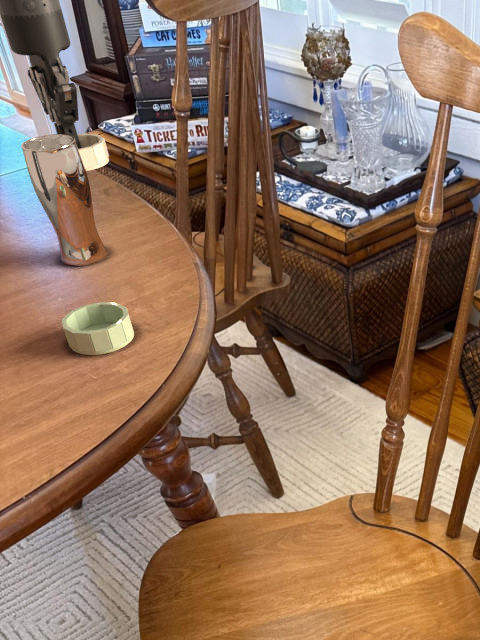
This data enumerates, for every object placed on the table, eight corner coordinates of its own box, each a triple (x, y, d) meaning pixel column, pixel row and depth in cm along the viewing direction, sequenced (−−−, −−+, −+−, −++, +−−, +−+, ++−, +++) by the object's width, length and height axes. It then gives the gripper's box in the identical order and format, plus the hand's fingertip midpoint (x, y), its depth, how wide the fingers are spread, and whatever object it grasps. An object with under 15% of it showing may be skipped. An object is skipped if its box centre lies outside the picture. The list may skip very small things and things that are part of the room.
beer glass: (119, 255, 109) (86, 140, 99) (74, 272, 106) (35, 154, 95) (94, 242, 113) (60, 130, 102) (49, 257, 109) (9, 143, 99)
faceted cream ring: (65, 176, 106) (58, 154, 104) (47, 162, 111) (41, 141, 109) (117, 164, 109) (111, 142, 108) (98, 150, 114) (92, 130, 112)
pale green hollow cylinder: (94, 361, 88) (86, 339, 86) (57, 342, 92) (49, 320, 90) (147, 335, 92) (140, 313, 90) (109, 317, 96) (103, 296, 94)
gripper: (76, 10, 97) (115, 157, 109) (42, -4, 105) (81, 134, 117) (15, 19, 94) (62, 169, 106) (-16, 4, 102) (31, 145, 114)
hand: (72, 151), depth 112 cm, fingers closed on faceted cream ring, 1 cm apart
